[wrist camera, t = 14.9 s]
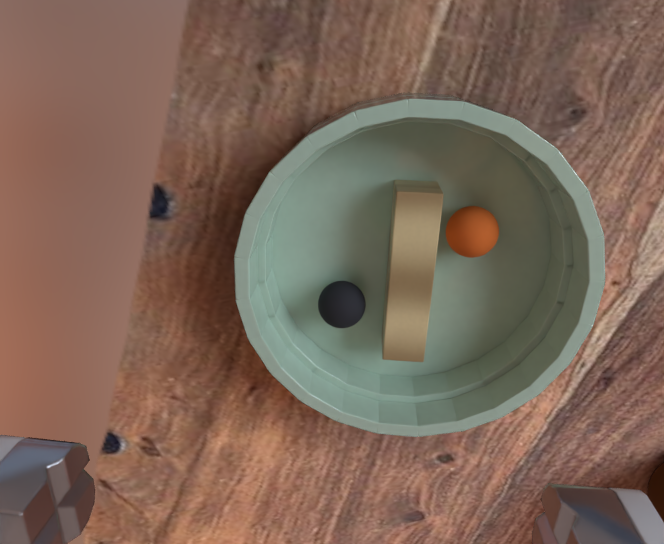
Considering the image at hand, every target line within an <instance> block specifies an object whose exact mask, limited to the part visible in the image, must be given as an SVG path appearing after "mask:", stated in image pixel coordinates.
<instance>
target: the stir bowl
mask: <svg viewBox="0 0 664 544" xmlns="http://www.w3.org/2000/svg"><path fill="white" fill-rule="evenodd" d="M394 180H416V181H436V182H438V184H439V186H440V188H441V190H442V192H443V194H444V198H443V206H442V214H441V223H440V231H439V239H438V247H437V256H436V264H435V272H434V281H433V289H432V297H431V306H430V314H429V322H428V331H427V339H426V347H425V356H424V362H410V361H395V360H383V359H382V336H381V335H382V323H383V311H384V298H385V286H386V273H387V261H388V249H389V236H390V224H391V211H392V199H393V186H394ZM468 206H478V207H482V208H484V209H486V210H488V211H489V212H491V213H492V214H493V216H494V217H495V218H496V220H497V223H498V226H499V236H498V240H497V242H496V244H495V246H494V247H493V248H492V249H491V250H490V251H489V252H488V253H486V254H485V255H482V256H480V257H474V258H469V257H464V256H461V255H459V254H457V253H456V252H455V251H454V250H453V249H452V248H451V247H450V246H449V244H448V242H447V239H446V226H447V223H448V221H449V219H450V217H451V216H452V215H453V214H454V213H455V212H456V211H458V210H459V209H461V208H464V207H468ZM603 235H604V233H603V230H602V227H601V224H600V221H599V219H598V216H597V213H596V210H595V207H594V204H593V201H592V198H591V195H590V192H589V191H588V188H587V187H586V186H585V184H584V183H583V182H582V180H581V179H580V178H579V176H578V175H577V174H576V172H575V171H574V170H573V168H572V167H571V166H570V164H569V163H568V162H567V160H566V159H565V158H564V156H563V155H562V154H561V152H560V151H559V150H558V149H557V148H556V147H554V146H553V145H551V144H550V143H549V142H547V141H546V140H544V139H543V138H542V137H540V136H539V135H537V134H536V133H535V132H533V131H532V130H530V129H529V128H528V127H526V126H525V125H523V124H522V123H521V122H519V121H518V120H516V119H514V118H512V117H509V116H507V115H505V114H502V113H500V112H498V111H495V110H493V109H490V108H487V107H484V106H481V105H478V104H475V103H472V102H470V101H467V100H464V99H461V98H458V97H455V96H452V95H451V96H450V95H443V94H423V93H398V94H394V95H389V96H385V97H381V98H376V99H372V100H367V101H363V102H358V103H357V104H354V105H352V106H350V107H348V108H346V109H344V110H342V111H340V112H339V113H337V114H335V115H333V116H331V117H329V118H327V119H326V120H324V121H322V122H320V123H318V124H316V125H315V126H314V127H313V128H312V129H311V130H310V131H309V132H308V133H307V134H305V135H304V136H303V137H302V138H301V139H300V140H299V141H298V142H297V143H296V144H295V145H294V146H293V147H292V148H291V149H290V150H289V151H288V152H287V153H286V154H285V155H284V156H283V157H282V158H281V159H280V160H279V161H278V162H277V164H276V165H275V166H274V167H273V168H272V169H271V171H270V172H269V173H268V175H267V176H266V178H265V180H264V181H263V183H262V185H261V186H260V188H259V190H258V192H257V193H256V195H255V197H254V198H253V200H252V202H251V203H250V205H249V207H248V209H247V210H246V213H245V215H244V219H243V223H242V227H241V231H240V234H239V238H238V242H237V246H236V250H235V254H234V273H235V298H236V304H237V307H238V310H239V313H240V316H241V319H242V322H243V325H244V329H245V332H246V335H247V338H248V339H249V342H250V343H251V345H252V346H253V348H254V349H255V351H256V352H257V354H258V355H259V357H260V359H261V360H262V362H263V363H264V365H265V366H266V368H267V369H268V371H269V372H270V373H271V375H272V376H273V377H275V378H276V379H277V380H278V381H279V382H280V383H281V384H282V385H283V386H284V387H285V388H286V389H288V390H289V391H290V392H291V393H292V394H293V395H294V396H295V397H296V398H297V399H298V400H299V401H301V402H302V403H304V404H306V405H308V406H309V407H311V408H313V409H315V410H316V411H318V412H320V413H322V414H324V415H325V416H327V417H329V418H331V419H332V420H334V421H337V422H339V423H343V424H346V425H349V426H353V427H356V428H359V429H363V430H366V431H369V432H373V433H377V434H387V435H399V436H411V437H418V436H419V437H422V436H430V435H438V434H445V433H453V432H460V431H461V432H462V431H465V430H468V429H471V428H473V427H476V426H479V425H482V424H485V423H488V422H491V421H494V420H496V419H499V418H501V417H504V416H505V415H507V414H509V413H510V412H512V411H513V410H515V409H517V408H518V407H520V406H522V405H523V404H525V403H526V402H528V401H530V400H531V399H533V398H535V397H536V396H538V395H539V394H540V393H541V392H542V391H543V390H544V389H545V388H546V387H547V386H548V385H549V384H550V383H551V382H552V381H553V380H554V379H555V378H556V377H557V376H558V375H559V374H560V373H561V372H562V371H563V370H564V369H565V368H566V367H567V366H568V365H569V364H570V363H571V362H572V360H573V358H574V357H575V355H576V353H577V352H578V350H579V348H580V347H581V345H582V343H583V342H584V340H585V338H586V337H587V335H588V333H589V332H590V330H591V328H592V327H593V324H594V321H595V318H596V314H597V310H598V307H599V303H600V300H601V296H602V292H603V289H604V285H605V252H604V236H603ZM336 281H348V282H351V283H353V284H355V285H356V286H357V287H358V288H359V289H360V290H361V291H362V293H363V295H364V297H365V302H366V307H365V312H364V314H363V316H362V318H361V319H360V321H359V322H357V323H356V324H355V325H353V326H351V327H348V328H335V327H333V326H330V325H329V324H327V323H326V322H325V321H324V320H323V318H322V317H321V315H320V313H319V309H318V300H319V296H320V294H321V292H322V291H323V289H324V288H325V287H326V286H328V285H329V284H331V283H333V282H336Z"/></svg>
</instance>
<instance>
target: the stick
mask: <svg viewBox="0 0 664 544" xmlns="http://www.w3.org/2000/svg"><path fill="white" fill-rule="evenodd" d="M443 198H444V194H443V192H442V190H441V188H440V186H439V184H438V182H436V181H416V180H394V186H393V199H392V211H391V224H390V236H389V249H388V261H387V273H386V286H385V298H384V311H383V323H382V335H381V336H382V359H383V360H395V361H410V362H424V356H425V347H426V339H427V331H428V322H429V314H430V306H431V297H432V289H433V281H434V272H435V264H436V256H437V247H438V239H439V231H440V223H441V214H442V206H443Z"/></svg>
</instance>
